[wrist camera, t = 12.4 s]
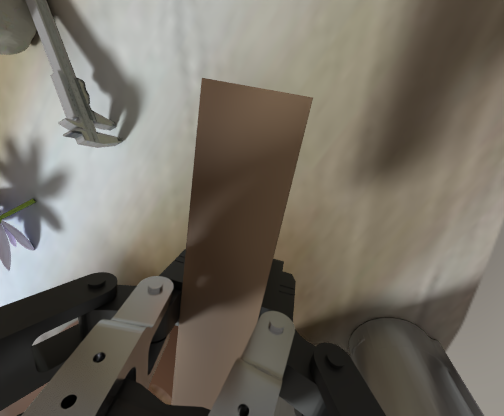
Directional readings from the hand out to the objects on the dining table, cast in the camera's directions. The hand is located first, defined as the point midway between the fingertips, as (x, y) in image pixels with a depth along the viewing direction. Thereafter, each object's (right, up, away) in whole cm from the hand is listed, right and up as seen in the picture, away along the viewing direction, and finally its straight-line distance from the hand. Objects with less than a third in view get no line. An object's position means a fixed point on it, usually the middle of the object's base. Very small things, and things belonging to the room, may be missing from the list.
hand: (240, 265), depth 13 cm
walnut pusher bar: (0, 0, +1) cm, 1 cm away
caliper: (-19, +20, +14) cm, 31 cm away
